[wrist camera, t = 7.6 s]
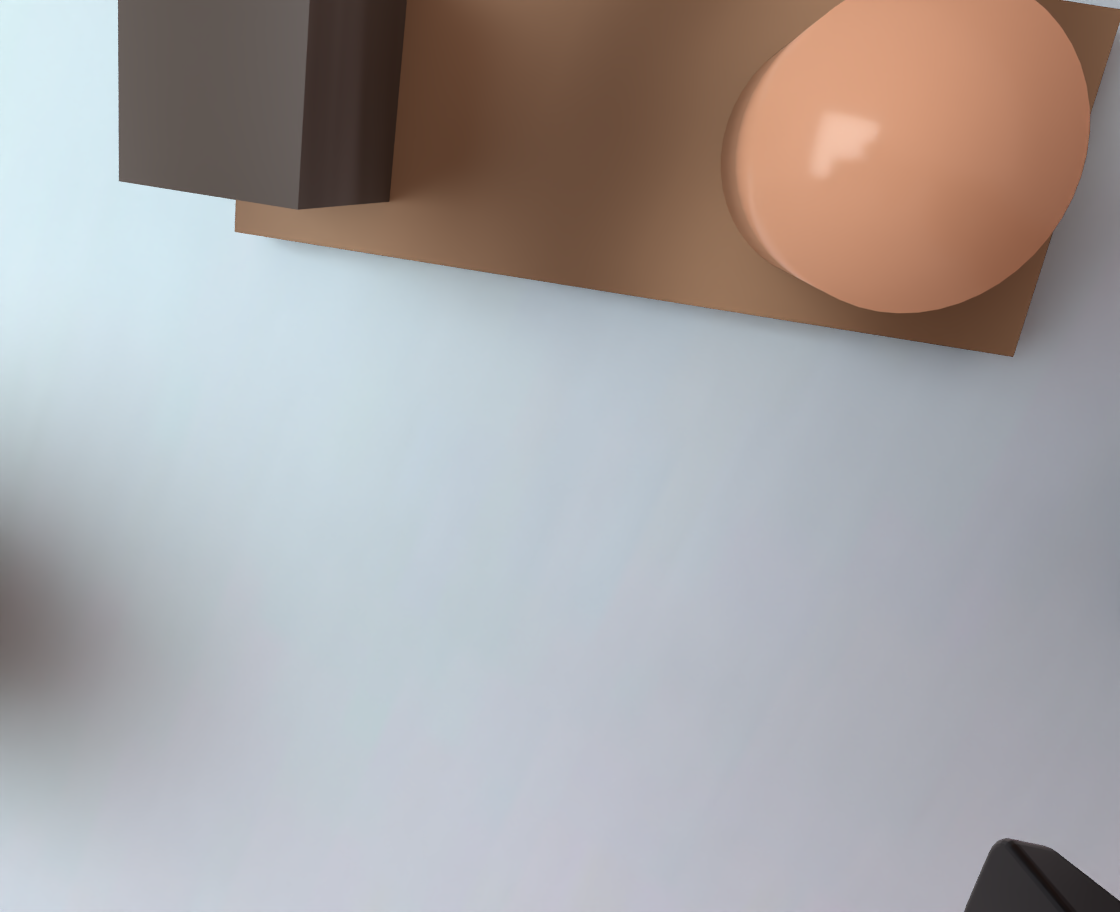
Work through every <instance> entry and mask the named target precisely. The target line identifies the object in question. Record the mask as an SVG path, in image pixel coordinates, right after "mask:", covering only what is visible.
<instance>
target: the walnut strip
mask: <svg viewBox="0 0 1120 912" xmlns="http://www.w3.org/2000/svg"><path fill="white" fill-rule="evenodd" d="M843 1H845V0H118V67H119V181H122V182H128V183H134V184H140V185H147V186H153V187H159V188H165V189H172V190H178V191H184V192H190V193H197V194H203V195H209V196H215V197H221V198H228V199H234V200H236V211H235V232H239V233H246V234H252V235H258V236H264V237H271V238H277V239H283V240H289V241H295V242H302V243H308V244H314V245H320V246H327V247H333V248H339V249H345V250H351V251H358V252H364V253H370V254H376V255H382V256H389V257H395V258H401V259H407V260H414V261H420V262H426V263H432V264H438V265H445V266H451V267H457V268H463V269H470V270H476V271H482V272H488V273H494V274H501V275H507V276H513V277H519V278H526V279H532V280H538V281H544V282H550V283H557V284H563V285H569V286H575V287H582V288H588V289H594V290H600V291H606V292H613V293H619V294H625V295H631V296H638V297H644V298H650V299H656V300H662V301H669V302H675V303H681V304H687V305H694V306H700V307H706V308H712V309H718V310H725V311H731V312H737V313H743V314H750V315H756V316H762V317H768V318H774V319H781V320H787V321H793V322H799V323H806V324H812V325H818V326H824V327H830V328H837V329H843V330H849V331H855V332H861V333H868V334H874V335H880V336H886V337H893V338H899V339H905V340H911V341H917V342H924V343H930V344H936V345H942V346H949V347H955V348H961V349H967V350H973V351H980V352H986V353H992V354H998V355H1005V356H1011V357H1013V356H1014V353H1015V350H1016V346H1017V343H1018V340H1019V337H1020V334H1021V331H1022V327H1023V324H1024V321H1025V318H1026V315H1027V312H1028V309H1029V305H1030V302H1031V299H1032V296H1033V293H1034V290H1035V287H1036V283H1037V280H1038V277H1039V274H1040V271H1041V268H1042V265H1043V261H1044V258H1045V255H1046V252H1047V249H1048V246H1049V243H1050V239H1051V236H1052V234H1051V235H1050V237H1049V238H1048V239H1047V240H1046V241H1045V243H1044V244H1043V245H1042V246H1041V247H1040V248H1039V249H1038V251H1037V252H1036V253H1035V254H1034V255H1033V256H1032V257H1031V258H1030V259H1029V260H1028V261H1027V262H1026V263H1025V264H1023V265H1022V266H1021V267H1020V268H1019V269H1018V270H1017V271H1016V272H1014V273H1013V274H1011V275H1010V276H1009V277H1007V278H1006V279H1005V280H1003V281H1002V282H1001V283H999V284H998V285H996V286H994V287H992V288H991V289H989V290H987V291H985V292H984V293H982V294H980V295H978V296H975V297H973V298H971V299H968V300H966V301H964V302H961V303H959V304H955V305H952V306H948V307H945V308H942V309H937V310H931V311H925V312H919V313H889V312H878V311H874V310H869V309H865V308H861V307H857V306H854V305H852V304H849V303H847V302H844V301H841V300H839V299H837V298H835V297H833V296H831V295H829V294H827V293H825V292H823V291H821V290H819V289H817V288H815V287H813V286H812V285H810V284H808V283H806V282H804V281H802V280H800V279H798V278H796V277H794V276H792V275H790V274H788V273H786V272H784V271H782V270H781V269H779V268H777V267H775V266H773V265H772V264H770V263H769V262H768V261H766V260H765V259H764V258H762V257H761V256H760V255H759V254H758V253H757V252H756V251H755V250H754V249H753V248H752V247H751V246H750V245H749V244H748V243H747V241H746V240H745V239H744V237H743V236H742V235H741V233H740V232H739V230H738V228H737V227H736V225H735V223H734V221H733V219H732V217H731V214H730V212H729V209H728V207H727V204H726V200H725V196H724V192H723V188H722V179H721V152H722V144H723V138H724V134H725V130H726V126H727V123H728V120H729V117H730V115H731V112H732V110H733V107H734V105H735V103H736V101H737V100H738V98H739V96H740V94H741V92H742V90H743V89H744V88H745V86H746V85H747V83H748V82H749V81H750V79H751V78H752V76H753V75H754V74H755V73H756V72H757V71H758V70H759V68H760V67H761V66H762V65H763V64H764V63H765V62H766V61H767V60H768V59H770V58H771V57H772V56H773V55H774V54H775V53H777V52H778V51H779V50H780V49H781V48H783V47H784V46H785V45H787V44H788V43H789V42H790V41H792V40H793V39H794V38H796V37H797V36H798V35H799V34H801V33H802V32H803V31H805V30H806V29H807V28H809V27H810V26H811V25H812V24H814V23H815V22H816V21H818V20H819V19H820V18H821V17H823V16H824V15H825V14H827V13H828V12H829V11H830V10H832V9H833V8H834V7H836V6H837V5H839V4H840V3H842V2H843ZM1036 1H1037V2H1038V3H1039V4H1040V5H1042V6H1043V7H1044V8H1045V9H1046V10H1047V11H1048V12H1049V13H1050V14H1051V16H1052V17H1053V18H1054V19H1055V20H1056V21H1057V22H1058V24H1059V25H1060V26H1061V28H1062V29H1063V31H1064V32H1065V34H1066V35H1067V37H1068V39H1069V40H1070V42H1071V43H1072V45H1073V48H1074V50H1075V52H1076V54H1077V57H1078V59H1079V61H1080V63H1081V67H1082V70H1083V74H1084V77H1085V81H1086V85H1087V91H1088V98H1089V106H1090V114H1091V110H1092V107H1093V104H1094V101H1095V98H1096V95H1097V92H1098V88H1099V85H1100V82H1101V79H1102V76H1103V73H1104V70H1105V66H1106V63H1107V60H1108V57H1109V54H1110V51H1111V48H1112V44H1113V41H1114V38H1115V35H1116V32H1117V29H1118V26H1119V22H1120V9H1114V8H1108V7H1102V6H1095V5H1089V4H1083V3H1077V2H1070V1H1064V0H1036ZM1052 233H1053V232H1052Z"/></svg>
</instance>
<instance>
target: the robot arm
mask: <svg viewBox="0 0 1120 912" xmlns="http://www.w3.org/2000/svg"><path fill="white" fill-rule="evenodd" d="M964 912H1120V901H1119V900H1118V899H1116V898H1115V897H1114V896H1112V895H1111V894H1110V893H1109V892H1107V891H1106V890H1105V889H1103V888H1102V887H1101V886H1100V885H1098V884H1097V883H1096V882H1094V881H1093V880H1092V879H1091V878H1089V877H1088V876H1087V875H1085V874H1084V873H1083V872H1082V871H1080V870H1079V869H1078V868H1076V867H1075V866H1074V865H1073V864H1071V863H1070V862H1069V861H1068V860H1066V859H1065V858H1064V857H1062V856H1061V855H1060V854H1059V853H1057V852H1056V851H1054V850H1053V849H1051V848H1049V847H1046V846H1043V845H1038V844H1033V843H1028V842H1024V841H1019V840H1014V839H1009V838H1005V839H1002V840H999V841H997V842H996V843H995V844H994V845H993V846H992V848H991V850H990V852H989V854H988V856H987V858H986V861H985V863H984V865H983V868H982V870H981V872H980V875H979V877H978V879H977V882H976V884H975V886H974V889H973V891H972V893H971V896H970V898H969V900H968V903H967V905H966V908H965V911H964Z"/></svg>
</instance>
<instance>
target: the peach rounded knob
mask: <svg viewBox="0 0 1120 912" xmlns="http://www.w3.org/2000/svg"><path fill="white" fill-rule="evenodd" d="M1089 133H1090V106H1089V98H1088V91H1087V85H1086V81H1085V77H1084V74H1083V70H1082V67H1081V63H1080V61H1079V59H1078V57H1077V54H1076V52H1075V50H1074V48H1073V45H1072V43H1071V42H1070V40H1069V39H1068V37H1067V35H1066V34H1065V32H1064V31H1063V29H1062V28H1061V26H1060V25H1059V24H1058V22H1057V21H1056V20H1055V19H1054V18H1053V17H1052V16H1051V14H1050V13H1049V12H1048V11H1047V10H1046V9H1045V8H1044V7H1043V6H1042V5H1040V4H1039V3H1038V2H1037V1H1036V0H845V1H843V2H842V3H840V4H839V5H837V6H836V7H834V8H833V9H832V10H830V11H829V12H828V13H827V14H825V15H824V16H823V17H821V18H820V19H819V20H818V21H816V22H815V23H814V24H812V25H811V26H810V27H809V28H807V29H806V30H805V31H803V32H802V33H801V34H799V35H798V36H797V37H796V38H794V39H793V40H792V41H790V42H789V43H788V44H787V45H785V46H784V47H783V48H781V49H780V50H779V51H778V52H777V53H775V54H774V55H773V56H772V57H771V58H770V59H768V60H767V61H766V62H765V63H764V64H763V65H762V66H761V67H760V68H759V70H758V71H757V72H756V73H755V74H754V75H753V76H752V78H751V79H750V81H749V82H748V83H747V85H746V86H745V88H744V89H743V90H742V92H741V94H740V96H739V98H738V100H737V101H736V103H735V105H734V107H733V110H732V112H731V115H730V117H729V120H728V123H727V126H726V130H725V134H724V138H723V144H722V152H721V179H722V188H723V192H724V196H725V200H726V204H727V207H728V209H729V212H730V214H731V217H732V219H733V221H734V223H735V225H736V227H737V228H738V230H739V232H740V233H741V235H742V236H743V237H744V239H745V240H746V241H747V243H748V244H749V245H750V246H751V247H752V248H753V249H754V250H755V251H756V252H757V253H758V254H759V255H760V256H761V257H762V258H764V259H765V260H766V261H768V262H769V263H770V264H772V265H773V266H775V267H777V268H779V269H781V270H782V271H784V272H786V273H788V274H790V275H792V276H794V277H796V278H798V279H800V280H802V281H804V282H806V283H808V284H810V285H812V286H813V287H815V288H817V289H819V290H821V291H823V292H825V293H827V294H829V295H831V296H833V297H835V298H837V299H839V300H841V301H844V302H847V303H849V304H852V305H854V306H857V307H861V308H865V309H869V310H874V311H878V312H889V313H919V312H925V311H931V310H937V309H942V308H945V307H948V306H952V305H955V304H959V303H961V302H964V301H966V300H968V299H971V298H973V297H975V296H978V295H980V294H982V293H984V292H985V291H987V290H989V289H991V288H992V287H994V286H996V285H998V284H999V283H1001V282H1002V281H1003V280H1005V279H1006V278H1007V277H1009V276H1010V275H1011V274H1013V273H1014V272H1016V271H1017V270H1018V269H1019V268H1020V267H1021V266H1022V265H1023V264H1025V263H1026V262H1027V261H1028V260H1029V259H1030V258H1031V257H1032V256H1033V255H1034V254H1035V253H1036V252H1037V251H1038V249H1039V248H1040V247H1041V246H1042V245H1043V244H1044V243H1045V241H1046V240H1047V239H1048V238H1049V237H1050V235H1051V234H1052V232H1053V231H1054V229H1055V228H1056V226H1057V225H1058V223H1059V222H1060V220H1061V219H1062V217H1063V215H1064V213H1065V212H1066V210H1067V208H1068V206H1069V204H1070V202H1071V200H1072V198H1073V196H1074V193H1075V191H1076V188H1077V186H1078V183H1079V180H1080V178H1081V175H1082V171H1083V167H1084V163H1085V159H1086V155H1087V149H1088V141H1089Z"/></svg>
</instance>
